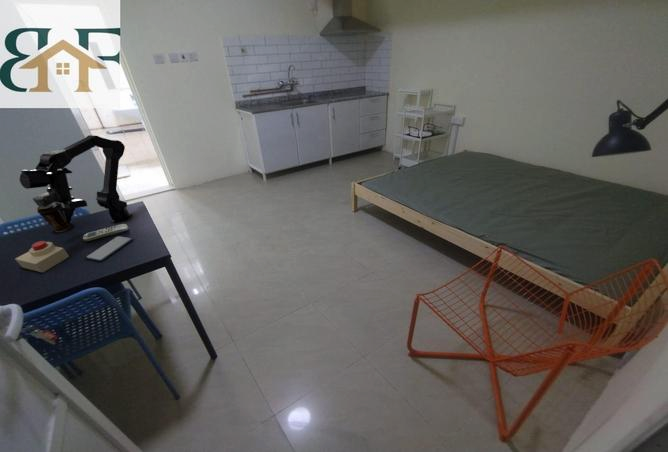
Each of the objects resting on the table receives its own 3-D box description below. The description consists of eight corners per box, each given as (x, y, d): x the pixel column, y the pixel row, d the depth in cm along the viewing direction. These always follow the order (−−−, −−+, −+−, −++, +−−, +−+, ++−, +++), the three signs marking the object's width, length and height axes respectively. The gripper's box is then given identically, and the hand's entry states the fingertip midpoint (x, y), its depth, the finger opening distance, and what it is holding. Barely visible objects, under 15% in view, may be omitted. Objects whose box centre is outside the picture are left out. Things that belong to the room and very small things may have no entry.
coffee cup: (56, 226, 136) (39, 202, 129) (76, 221, 139) (61, 198, 132) (49, 235, 129) (32, 211, 122) (71, 230, 132) (55, 206, 125)
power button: (43, 244, 113) (40, 240, 112) (50, 245, 112) (47, 241, 111) (32, 250, 110) (28, 246, 108) (39, 251, 109) (35, 247, 107)
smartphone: (85, 257, 113) (117, 235, 125) (86, 258, 114) (118, 237, 125) (100, 260, 111) (132, 238, 123) (101, 262, 112) (133, 239, 123)
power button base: (49, 252, 118) (40, 239, 115) (69, 256, 115) (60, 244, 112) (22, 267, 110) (11, 254, 107) (42, 272, 107) (32, 259, 104)
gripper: (17, 185, 109) (28, 224, 113) (50, 190, 104) (60, 230, 108) (52, 182, 119) (61, 217, 123) (84, 186, 114) (91, 222, 119)
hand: (68, 221), depth 118 cm, fingers closed
